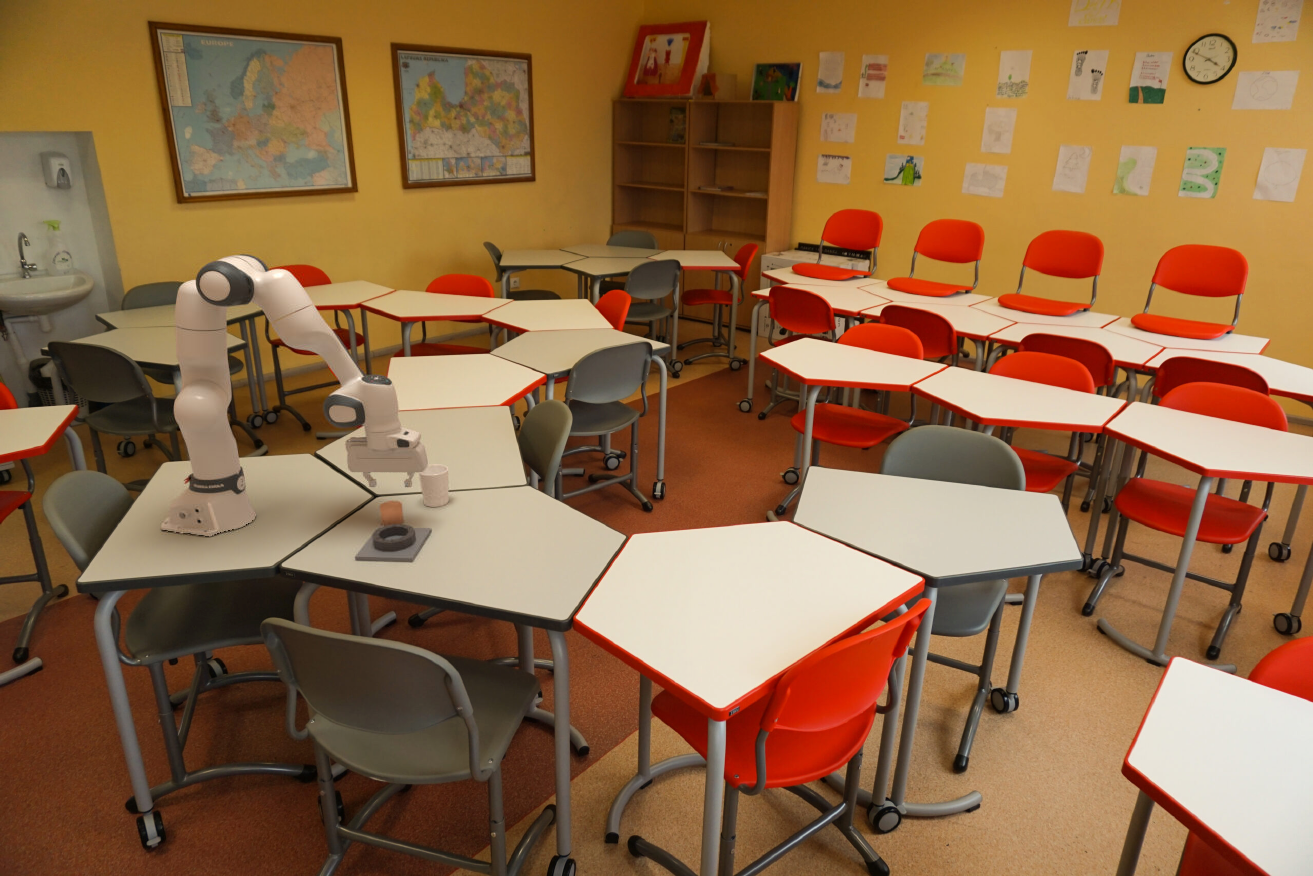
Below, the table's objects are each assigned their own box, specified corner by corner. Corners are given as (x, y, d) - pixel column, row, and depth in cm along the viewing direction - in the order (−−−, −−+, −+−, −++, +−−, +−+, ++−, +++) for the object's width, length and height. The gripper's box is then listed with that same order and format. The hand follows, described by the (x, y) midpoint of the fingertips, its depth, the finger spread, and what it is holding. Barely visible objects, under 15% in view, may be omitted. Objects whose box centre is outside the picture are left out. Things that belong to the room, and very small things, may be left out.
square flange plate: (355, 560, 197) (353, 547, 196) (378, 530, 212) (377, 518, 211) (412, 561, 197) (411, 549, 196) (431, 531, 212) (430, 519, 210)
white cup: (434, 510, 224) (430, 477, 220) (416, 503, 228) (412, 470, 224) (456, 501, 229) (453, 468, 226) (438, 494, 234) (435, 462, 230)
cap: (378, 526, 214) (376, 509, 212) (386, 517, 219) (384, 500, 218) (399, 527, 214) (397, 510, 212) (406, 517, 219) (404, 501, 218)
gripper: (339, 441, 206) (347, 491, 211) (419, 441, 205) (425, 491, 210) (349, 432, 212) (356, 481, 217) (426, 433, 211) (432, 481, 216)
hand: (390, 486), depth 213 cm, fingers open, 8 cm apart
